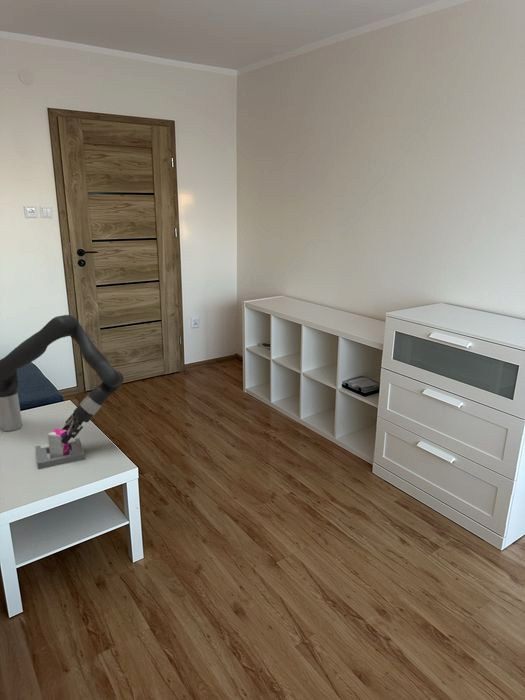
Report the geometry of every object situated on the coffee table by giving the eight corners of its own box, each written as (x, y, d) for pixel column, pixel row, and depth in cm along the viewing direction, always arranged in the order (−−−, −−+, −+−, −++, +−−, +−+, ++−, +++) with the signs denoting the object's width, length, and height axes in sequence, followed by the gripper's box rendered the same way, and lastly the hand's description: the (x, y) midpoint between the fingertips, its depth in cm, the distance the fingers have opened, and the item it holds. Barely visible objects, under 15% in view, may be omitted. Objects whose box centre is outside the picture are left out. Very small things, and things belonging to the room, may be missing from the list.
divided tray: (36, 451, 215) (35, 445, 214) (79, 442, 222) (79, 437, 222) (38, 469, 201) (37, 462, 200) (85, 459, 209) (84, 453, 208)
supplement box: (62, 460, 208) (59, 435, 204) (50, 459, 209) (46, 434, 205) (70, 453, 213) (67, 429, 210) (58, 452, 214) (54, 428, 211)
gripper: (78, 398, 215) (52, 427, 213) (82, 410, 203) (56, 441, 201) (92, 407, 219) (67, 436, 217) (97, 419, 207) (71, 450, 205)
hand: (62, 438), depth 209 cm, fingers open, 8 cm apart
